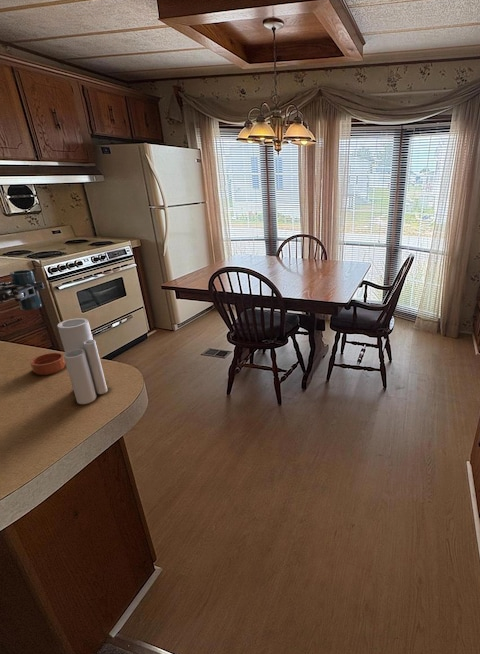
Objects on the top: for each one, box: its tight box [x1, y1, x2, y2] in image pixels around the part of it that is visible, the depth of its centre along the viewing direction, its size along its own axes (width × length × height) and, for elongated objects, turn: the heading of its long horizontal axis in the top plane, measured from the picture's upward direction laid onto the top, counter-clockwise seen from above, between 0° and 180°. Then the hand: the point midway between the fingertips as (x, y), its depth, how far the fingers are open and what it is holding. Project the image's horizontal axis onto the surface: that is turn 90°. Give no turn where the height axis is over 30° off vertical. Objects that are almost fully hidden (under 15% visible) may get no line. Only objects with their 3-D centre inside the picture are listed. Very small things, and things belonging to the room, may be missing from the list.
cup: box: [9, 269, 43, 311], centre depth 93 cm, size 5×5×10 cm
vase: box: [56, 317, 108, 405], centre depth 91 cm, size 11×7×20 cm, turn 36°
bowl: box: [29, 352, 66, 376], centre depth 105 cm, size 8×8×4 cm
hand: (35, 283), depth 95 cm, fingers closed on cup, 4 cm apart
